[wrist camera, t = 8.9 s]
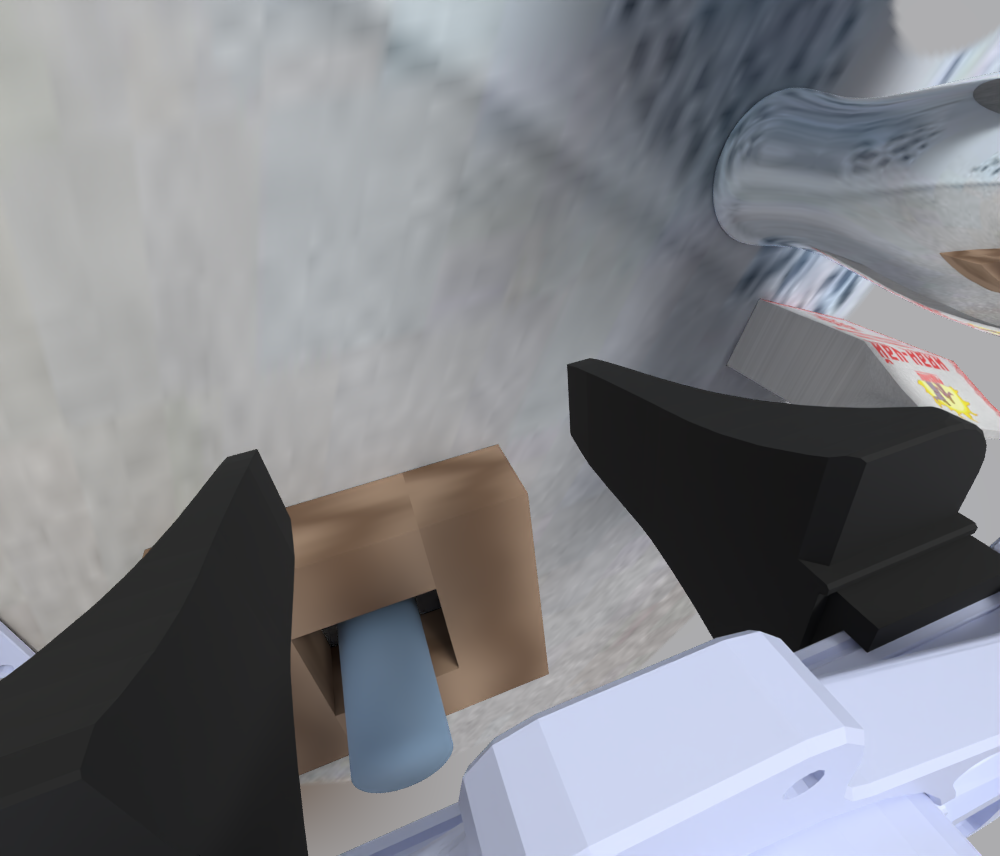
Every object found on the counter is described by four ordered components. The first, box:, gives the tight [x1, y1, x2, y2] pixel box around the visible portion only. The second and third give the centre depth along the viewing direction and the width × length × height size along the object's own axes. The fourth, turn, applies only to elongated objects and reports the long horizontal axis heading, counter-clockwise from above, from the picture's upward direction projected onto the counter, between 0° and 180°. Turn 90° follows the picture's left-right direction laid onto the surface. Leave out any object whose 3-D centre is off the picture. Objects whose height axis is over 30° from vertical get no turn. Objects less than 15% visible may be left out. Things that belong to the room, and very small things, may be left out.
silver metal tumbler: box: [713, 71, 1000, 337], centre depth 16 cm, size 7×7×15 cm
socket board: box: [142, 444, 549, 775], centre depth 26 cm, size 16×14×4 cm
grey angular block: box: [727, 299, 1000, 440], centre depth 24 cm, size 4×7×10 cm, turn 75°
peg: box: [337, 596, 453, 793], centre depth 24 cm, size 4×4×9 cm
